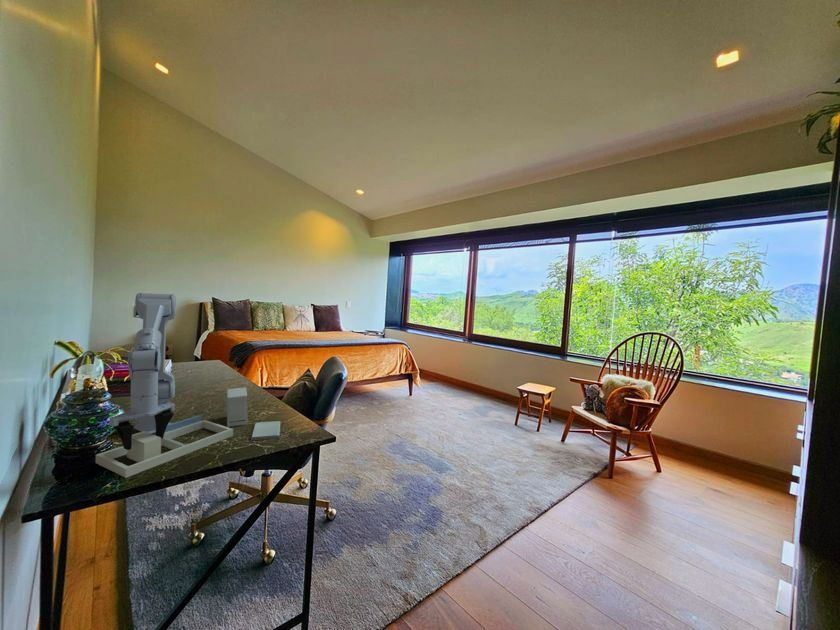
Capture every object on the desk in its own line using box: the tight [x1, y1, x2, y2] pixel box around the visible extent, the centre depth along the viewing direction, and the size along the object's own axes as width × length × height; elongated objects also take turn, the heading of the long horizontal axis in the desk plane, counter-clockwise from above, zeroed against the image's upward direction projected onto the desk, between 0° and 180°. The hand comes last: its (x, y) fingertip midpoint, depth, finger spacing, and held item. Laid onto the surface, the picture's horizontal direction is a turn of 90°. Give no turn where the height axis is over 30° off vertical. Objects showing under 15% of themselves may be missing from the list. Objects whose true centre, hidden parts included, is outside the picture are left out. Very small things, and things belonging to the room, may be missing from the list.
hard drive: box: [250, 420, 281, 441], centre depth 115 cm, size 2×8×12 cm
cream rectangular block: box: [126, 431, 162, 463], centre depth 94 cm, size 8×4×6 cm, turn 66°
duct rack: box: [95, 414, 234, 478], centre depth 100 cm, size 15×29×4 cm, turn 156°
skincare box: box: [226, 386, 248, 428], centre depth 123 cm, size 10×6×10 cm, turn 29°
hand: (144, 443), depth 94 cm, fingers open, 7 cm apart
